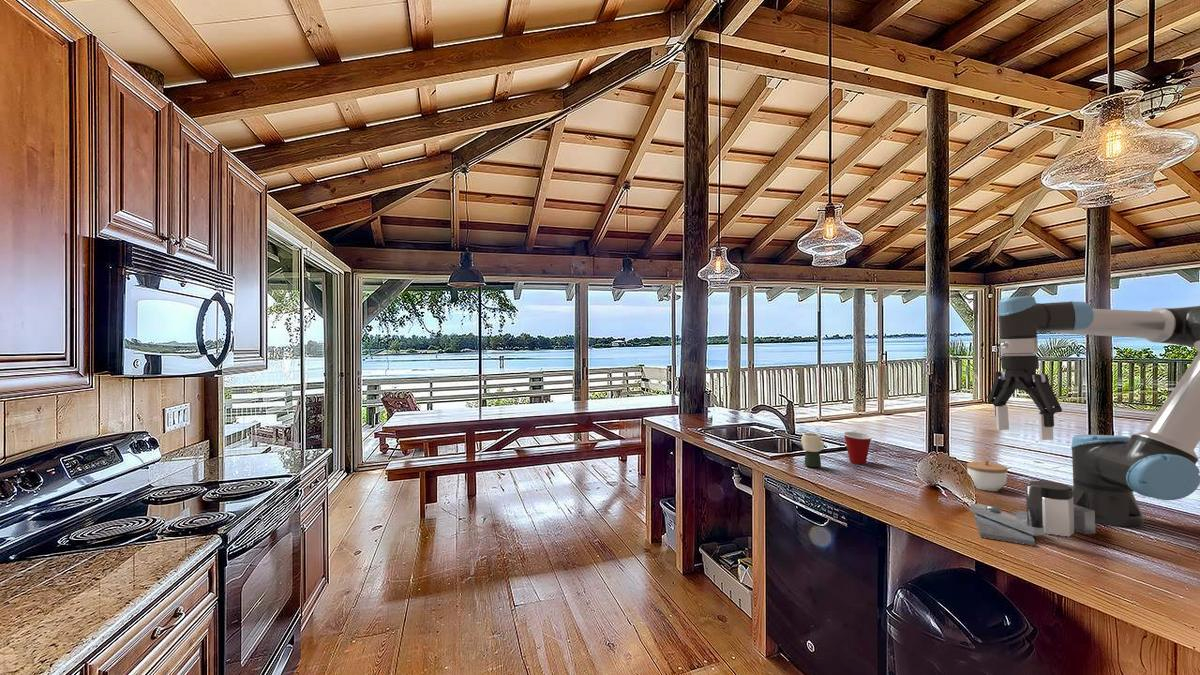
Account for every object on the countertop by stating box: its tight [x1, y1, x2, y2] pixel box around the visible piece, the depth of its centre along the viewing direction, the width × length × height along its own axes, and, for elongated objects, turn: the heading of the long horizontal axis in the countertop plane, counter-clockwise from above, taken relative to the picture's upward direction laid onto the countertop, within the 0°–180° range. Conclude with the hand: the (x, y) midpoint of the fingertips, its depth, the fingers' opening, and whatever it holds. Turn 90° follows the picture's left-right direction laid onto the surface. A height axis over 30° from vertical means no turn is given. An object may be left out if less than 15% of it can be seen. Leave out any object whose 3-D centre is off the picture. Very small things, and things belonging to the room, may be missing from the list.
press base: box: [972, 511, 1036, 547], centre depth 128 cm, size 10×22×1 cm, turn 146°
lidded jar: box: [966, 460, 1008, 492], centre depth 161 cm, size 11×11×9 cm
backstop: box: [1074, 505, 1096, 535], centre depth 127 cm, size 3×8×6 cm, turn 8°
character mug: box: [800, 432, 825, 468], centre depth 192 cm, size 11×7×13 cm, turn 24°
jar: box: [1029, 480, 1075, 538], centre depth 126 cm, size 9×8×12 cm
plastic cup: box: [842, 431, 873, 465], centre depth 196 cm, size 11×11×12 cm
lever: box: [970, 483, 1045, 537], centre depth 128 cm, size 18×5×12 cm, turn 8°
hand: (1023, 434), depth 126 cm, fingers open, 13 cm apart
